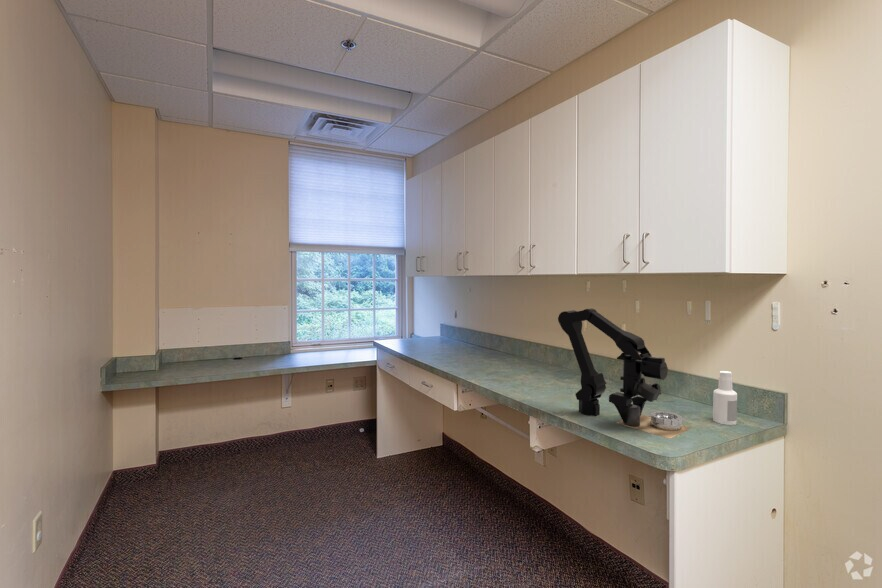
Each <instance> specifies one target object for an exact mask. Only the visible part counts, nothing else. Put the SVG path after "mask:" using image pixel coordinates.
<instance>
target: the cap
mask: <svg viewBox="0 0 882 588" xmlns="http://www.w3.org/2000/svg"><path fill="white" fill-rule="evenodd" d="M624 424H625V425H627V426H626V427H628V426H631V427H638V426H640V407H639V406H637V405H633V406H631V407H630V408H629V413H628V420H627V423H624ZM631 427H630V428H631Z"/></svg>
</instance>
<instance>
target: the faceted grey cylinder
mask: <svg viewBox="0 0 882 588" xmlns="http://www.w3.org/2000/svg"><path fill="white" fill-rule="evenodd" d="M650 417H651V426H653V427H654V428H657V429H660V430H665V431H679V430H681V429H682V425H683V416H682V415H680V414H678V413H675V412H672V411H663V410H658V411H657V410H656V411H652V412H650Z"/></svg>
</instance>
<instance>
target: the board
mask: <svg viewBox="0 0 882 588" xmlns="http://www.w3.org/2000/svg"><path fill="white" fill-rule="evenodd" d="M616 424H618V425H622V426H625V427H628V428H632V429H635V430H639V431H641V432H644V433H649V434H653V435H654V436H655V435H656V436H658V437H662V438H666V439H669V440H671V439H673V438H675V437H677V436H679V435H681V434H684V433H685V432H687V431H689V430H691V429H692V427H690V426H687V425H684V424H682V429H681V430H679V431H665V430H660V429H657V428H654V427H653V426H651V416H648V415H645V414H642V413H641V416H640V426H638V427H631V426H627V425H625V424H624V422H623V420H622V419H621V420H620V421H617V422H616Z"/></svg>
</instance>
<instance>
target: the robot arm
mask: <svg viewBox="0 0 882 588" xmlns="http://www.w3.org/2000/svg"><path fill="white" fill-rule="evenodd" d="M557 321H558V324H559V326H560V327H561V330H562V331H563V332H564V333H565V334H566V335H567V336H568V338H569V342H570V344H571V347H572V350H573V353H574V355H575V359H576V362H577V365H578V367H579V370H580V387H581V388H580V389H579V390H578V391H577V392H575V394H574V395H575V398H576V400H577V401H578V413H580V414H582V415H585V416H592V417H598V416H600V414H601V410H600V407H601V406H600V402H599V398H601V397H602V395H603V394H604V393H605V391H606V389H607V387H606V385H607V382H606V381H605V377H604V373H603V372H597V370H596V369H595V366H594V364H593V361H592V358H591V356H590V353H589V350H588V347H587V344H586V341H585V338H584V336H583V333H582V331H583V322H584V321H587V322H588V323H590V324H591V325H592V326H594V327H596V328H597V329H598V330H600V331H601V332H602V333H604V334H605V335H606V336H607V337H609V338H610V339H611V340H612V341H613V342H614V343H615V345H616V346H617V348H618V349H619V350H620V351H621V354H620V355H619V356H617V357H616V359H617V360H619V361H623V362H622V366H623V367H622V376H620V377H619V378H620V380H621V381H622V388H620V389H619V391H620V392H618V391H615V392H613V393H611V394H610V395H608V403H611V404H612V405H614V407H615V408H616V410H617V411H618V415H619V416H620V418H621V421H622V420H623V422H624V423H627V420H628V413H629V408H630V407H631V406H633V405H637V406H639V407H640V416H641V414H642V413H643V411H644V408H645V405H646V403H647V402H650V403H653V402H654V401H657V400H658V398H659V396H660V395H662V390H661V385H660V384H659V383H657V382H655V383H652V384H650V383H649V384H648V383H646V379H645V377H646V378H652V379H657V380H662V381H663V380H665V379H666V378H667V376H668V372H669V368H668V365H667V363H666V359H665V358H664V357H656V356H655V357H654V356H652V354H651V352H650V351H649V350H648V348H647V347H646V344H645V340H644V339H643V338H642V337H640V336H638V335H636V334H635V333H632V332H629V331H626V330H623V329H622V328H620V327H619V326H618V325H616V324H615V323H614V322H612V321H611V320H609V319H608V318H606V317H605V316H604V315H602V314H601V313H599V312H598V311H597V310H596V309H594V308H585V309H583V310H578V311H577V310H574V309H572V310H565V311H561V312H560V313H559V315H558V316H557ZM643 376H644V377H643Z"/></svg>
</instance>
